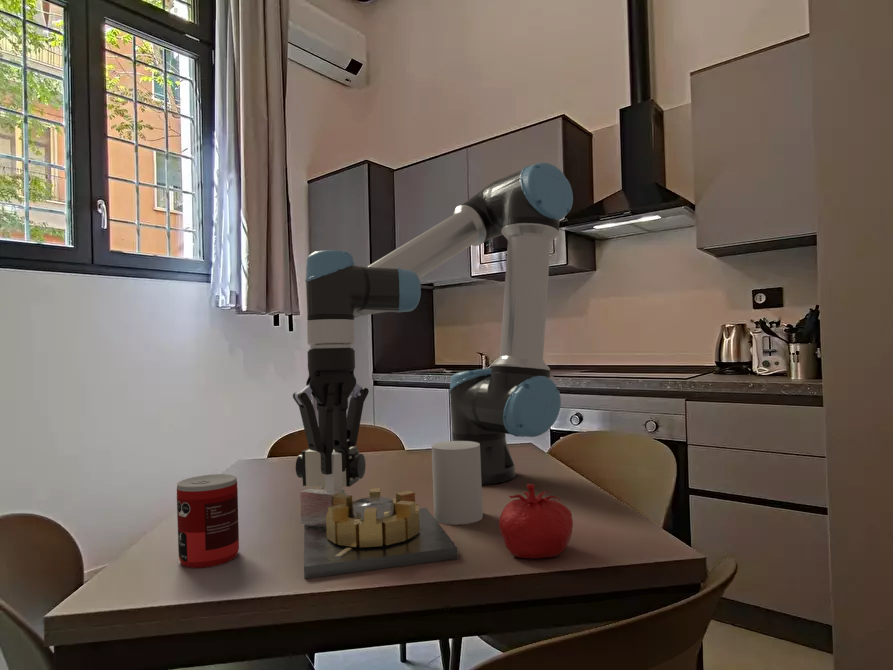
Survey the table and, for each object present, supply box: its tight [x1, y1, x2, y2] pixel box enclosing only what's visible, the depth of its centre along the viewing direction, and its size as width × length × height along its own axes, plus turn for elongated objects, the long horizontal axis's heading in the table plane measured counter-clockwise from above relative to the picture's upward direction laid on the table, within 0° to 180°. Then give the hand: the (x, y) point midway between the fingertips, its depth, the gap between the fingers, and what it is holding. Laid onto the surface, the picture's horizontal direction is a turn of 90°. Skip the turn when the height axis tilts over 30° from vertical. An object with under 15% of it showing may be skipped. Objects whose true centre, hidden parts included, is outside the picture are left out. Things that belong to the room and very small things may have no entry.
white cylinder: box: [431, 440, 484, 526], centre depth 95 cm, size 8×8×12 cm
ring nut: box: [299, 487, 420, 547], centre depth 85 cm, size 20×13×5 cm
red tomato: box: [498, 483, 574, 560], centre depth 78 cm, size 10×10×9 cm
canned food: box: [176, 473, 240, 569], centre depth 80 cm, size 8×8×11 cm
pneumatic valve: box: [295, 446, 367, 495], centre depth 103 cm, size 6×12×12 cm, turn 78°
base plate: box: [303, 496, 459, 579], centre depth 83 cm, size 20×20×6 cm
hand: (333, 493), depth 91 cm, fingers closed
